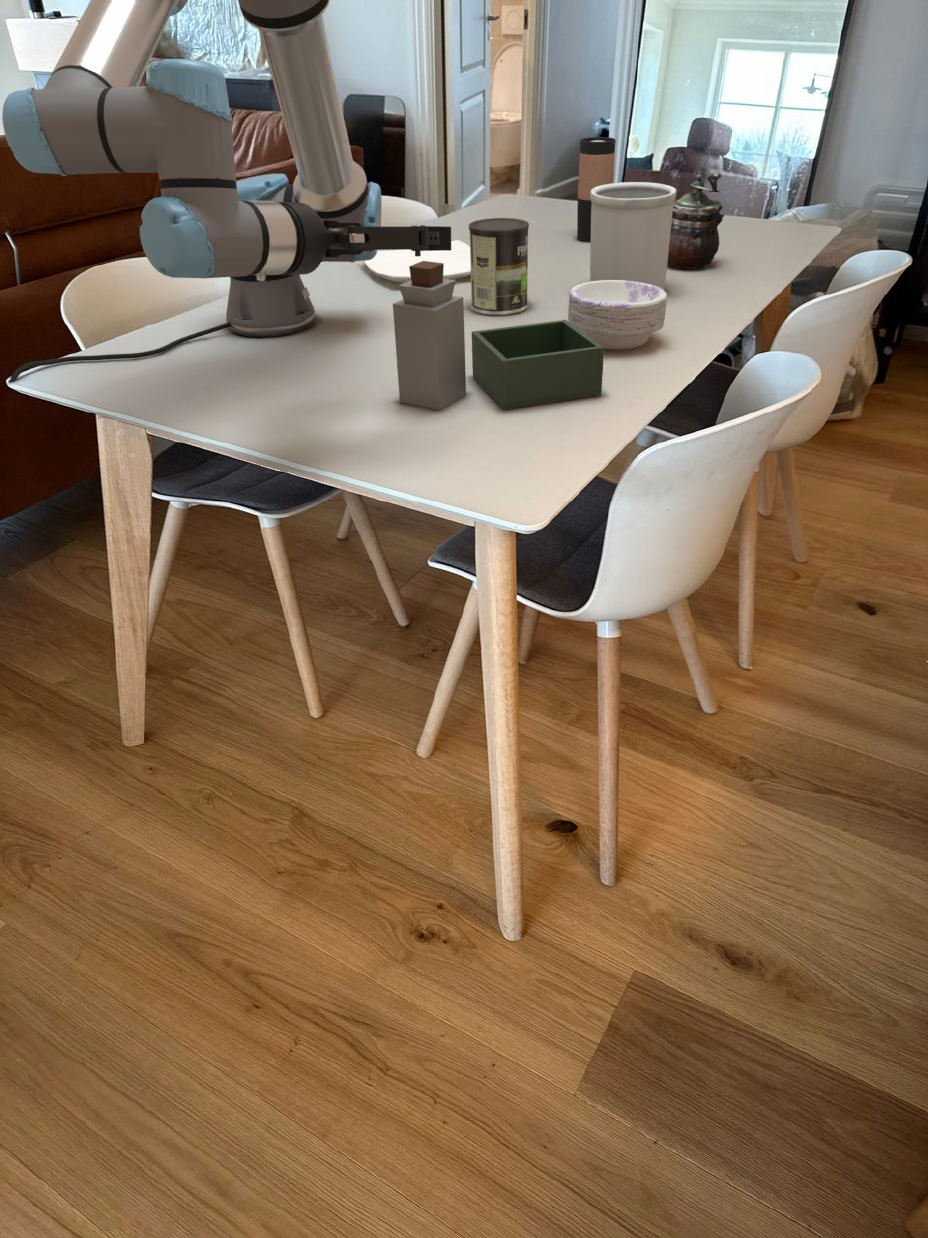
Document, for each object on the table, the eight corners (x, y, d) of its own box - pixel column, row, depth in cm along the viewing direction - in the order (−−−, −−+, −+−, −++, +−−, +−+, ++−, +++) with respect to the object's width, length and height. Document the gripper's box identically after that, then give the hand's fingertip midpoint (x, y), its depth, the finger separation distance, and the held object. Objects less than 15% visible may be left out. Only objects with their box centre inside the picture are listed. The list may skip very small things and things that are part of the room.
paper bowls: (676, 333, 147) (681, 283, 143) (641, 362, 137) (646, 309, 132) (590, 321, 154) (592, 273, 149) (551, 348, 143) (552, 296, 139)
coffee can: (531, 299, 166) (532, 217, 158) (523, 316, 157) (524, 230, 149) (476, 298, 168) (474, 216, 159) (465, 314, 159) (463, 229, 151)
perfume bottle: (466, 394, 128) (462, 261, 118) (439, 410, 124) (433, 273, 113) (426, 386, 131) (419, 256, 121) (399, 401, 127) (390, 267, 116)
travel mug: (570, 236, 206) (574, 138, 195) (601, 233, 208) (606, 135, 196) (584, 243, 200) (588, 142, 189) (615, 240, 202) (622, 140, 190)
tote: (502, 410, 123) (502, 361, 119) (472, 377, 134) (471, 331, 130) (601, 395, 126) (604, 347, 122) (564, 364, 137) (565, 319, 133)
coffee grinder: (681, 279, 174) (692, 176, 164) (647, 261, 186) (655, 164, 176) (740, 272, 177) (754, 171, 167) (703, 255, 189) (714, 159, 178)
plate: (507, 277, 179) (507, 262, 178) (389, 293, 172) (388, 278, 171) (461, 250, 198) (461, 238, 196) (354, 264, 191) (352, 251, 189)
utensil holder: (629, 308, 160) (637, 200, 150) (569, 291, 169) (573, 189, 159) (683, 291, 167) (694, 188, 157) (623, 276, 177) (629, 178, 167)
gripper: (213, 273, 109) (342, 269, 124) (359, 276, 94) (485, 271, 109) (206, 205, 106) (339, 209, 121) (355, 197, 91) (485, 203, 106)
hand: (408, 239), depth 115 cm, fingers open, 13 cm apart
